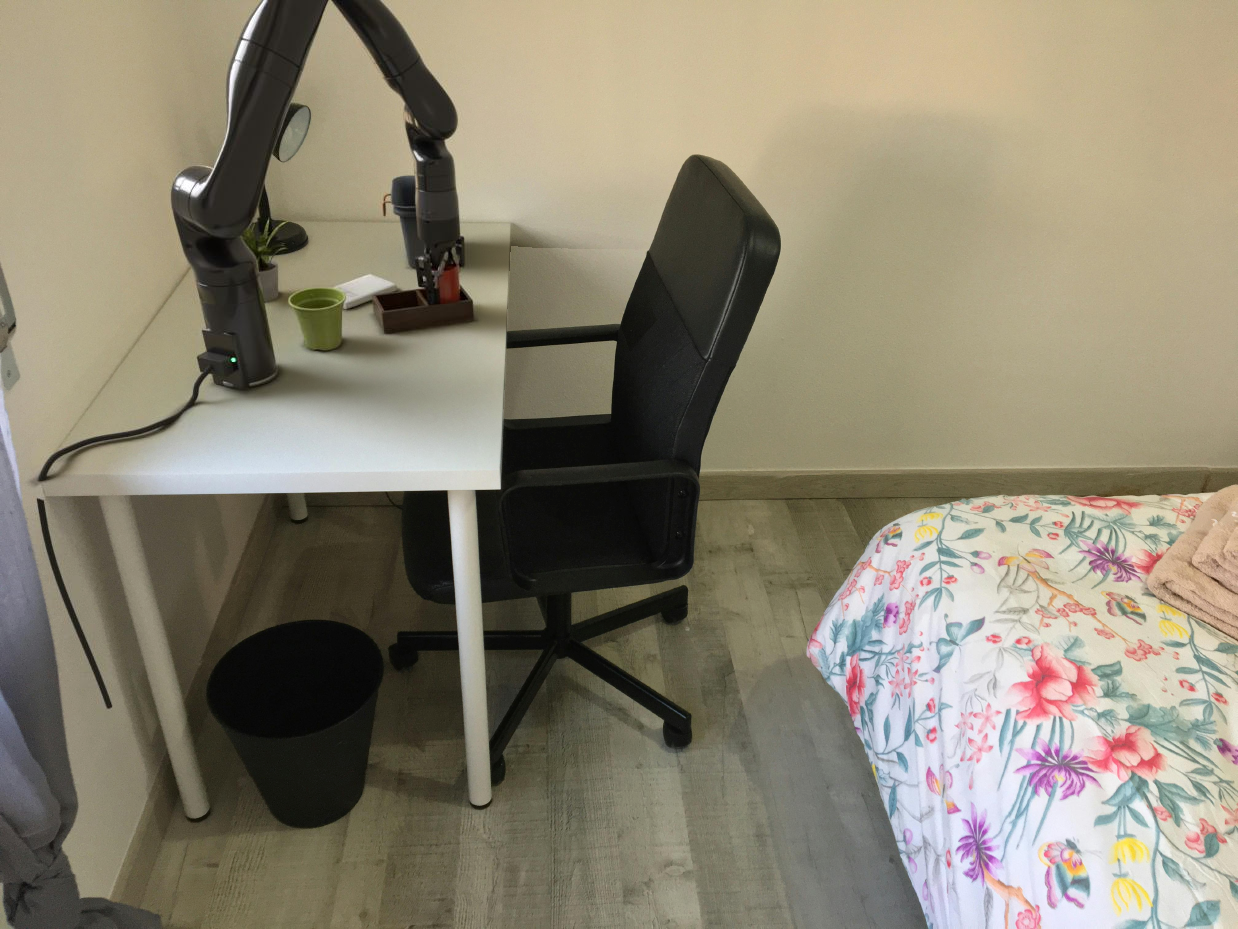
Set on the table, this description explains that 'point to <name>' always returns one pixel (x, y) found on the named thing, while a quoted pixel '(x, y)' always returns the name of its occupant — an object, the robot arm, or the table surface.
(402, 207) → the storage bin
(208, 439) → the table surface
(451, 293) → the cup
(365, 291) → the hard drive
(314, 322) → the plant pot
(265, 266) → the house plant
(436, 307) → the caddy
